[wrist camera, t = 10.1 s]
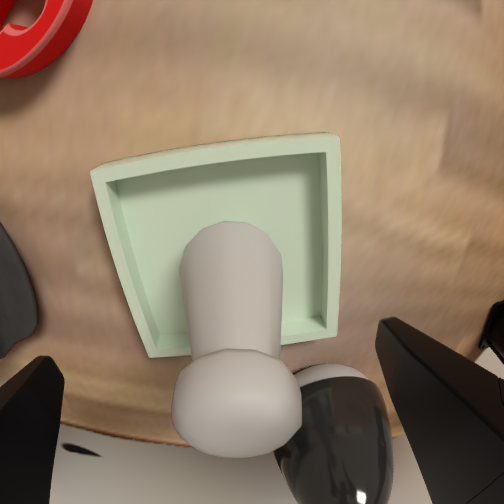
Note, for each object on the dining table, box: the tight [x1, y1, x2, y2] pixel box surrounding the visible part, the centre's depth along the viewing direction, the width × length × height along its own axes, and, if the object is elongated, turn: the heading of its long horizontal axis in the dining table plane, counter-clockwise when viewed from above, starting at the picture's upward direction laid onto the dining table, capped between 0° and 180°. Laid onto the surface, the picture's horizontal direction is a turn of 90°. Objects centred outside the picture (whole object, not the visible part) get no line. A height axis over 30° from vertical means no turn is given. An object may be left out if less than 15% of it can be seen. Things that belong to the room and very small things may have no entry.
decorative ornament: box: [0, 0, 93, 78], centre depth 11 cm, size 10×10×3 cm
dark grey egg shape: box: [273, 364, 394, 504], centre depth 21 cm, size 10×10×15 cm
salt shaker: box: [171, 221, 302, 458], centre depth 14 cm, size 6×6×13 cm
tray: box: [90, 132, 341, 358], centre depth 20 cm, size 14×14×2 cm
